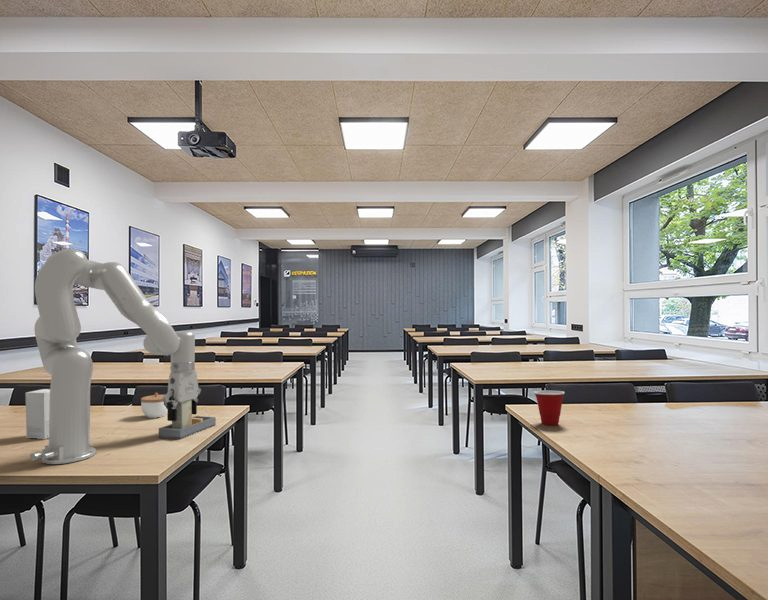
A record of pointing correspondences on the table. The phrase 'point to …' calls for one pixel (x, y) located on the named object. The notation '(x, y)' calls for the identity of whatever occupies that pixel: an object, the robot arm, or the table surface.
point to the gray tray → (187, 428)
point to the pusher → (196, 420)
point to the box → (183, 415)
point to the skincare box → (37, 414)
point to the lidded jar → (153, 406)
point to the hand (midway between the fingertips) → (182, 417)
